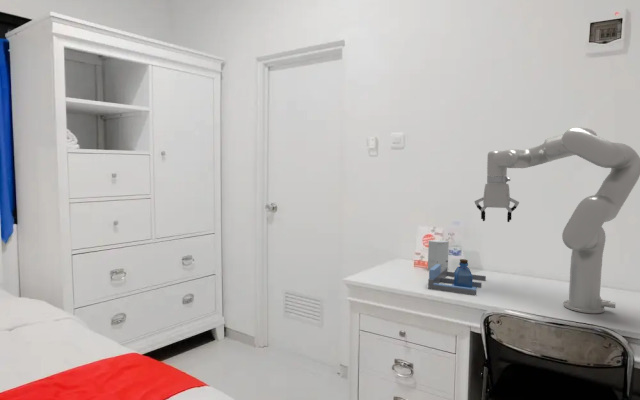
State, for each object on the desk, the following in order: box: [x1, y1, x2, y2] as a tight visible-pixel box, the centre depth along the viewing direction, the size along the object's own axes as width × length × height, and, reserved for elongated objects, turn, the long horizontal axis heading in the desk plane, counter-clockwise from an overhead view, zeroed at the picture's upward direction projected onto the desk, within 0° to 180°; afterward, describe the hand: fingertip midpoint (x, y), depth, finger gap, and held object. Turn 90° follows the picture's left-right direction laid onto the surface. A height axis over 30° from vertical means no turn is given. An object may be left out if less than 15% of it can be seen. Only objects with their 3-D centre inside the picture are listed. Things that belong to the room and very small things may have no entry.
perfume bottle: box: [453, 258, 474, 288], centre depth 178 cm, size 6×6×12 cm
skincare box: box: [427, 239, 449, 271], centre depth 211 cm, size 8×6×15 cm
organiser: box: [427, 264, 487, 296], centre depth 186 cm, size 19×27×8 cm
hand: (496, 221), depth 181 cm, fingers open, 9 cm apart
